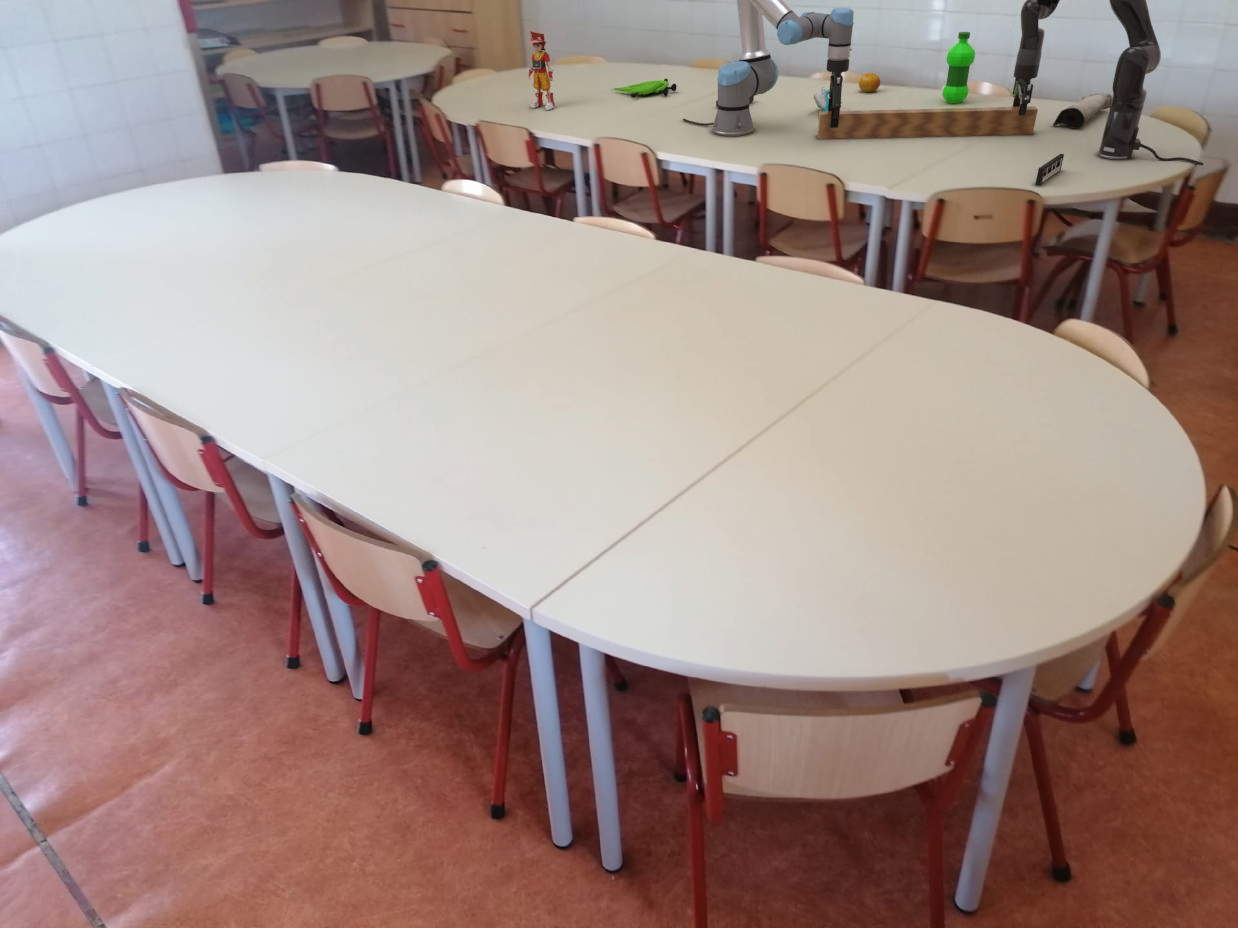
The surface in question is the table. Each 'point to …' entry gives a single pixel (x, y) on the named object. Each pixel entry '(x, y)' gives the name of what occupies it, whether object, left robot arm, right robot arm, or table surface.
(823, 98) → the anatomical model
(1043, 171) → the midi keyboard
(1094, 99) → the rolled mat
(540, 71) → the toy
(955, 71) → the plastic bottle
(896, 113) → the wooden plank
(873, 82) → the fruit
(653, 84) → the toy
